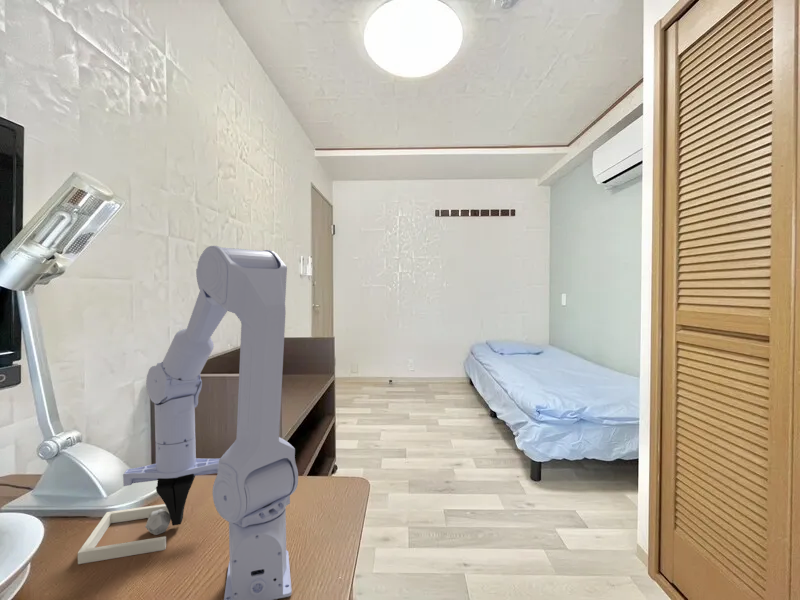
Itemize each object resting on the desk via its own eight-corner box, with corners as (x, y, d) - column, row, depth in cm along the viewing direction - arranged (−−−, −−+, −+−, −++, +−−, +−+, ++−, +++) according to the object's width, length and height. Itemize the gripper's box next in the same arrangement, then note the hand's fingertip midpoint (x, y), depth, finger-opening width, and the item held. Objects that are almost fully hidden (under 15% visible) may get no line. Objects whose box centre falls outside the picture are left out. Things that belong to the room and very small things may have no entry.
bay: (165, 549, 64) (164, 539, 64) (77, 564, 61) (77, 553, 61) (180, 511, 76) (179, 501, 76) (107, 521, 72) (106, 512, 72)
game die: (174, 524, 71) (174, 506, 71) (165, 536, 68) (165, 517, 68) (152, 525, 71) (151, 507, 71) (141, 538, 67) (141, 519, 67)
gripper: (226, 426, 76) (227, 503, 76) (131, 435, 72) (134, 516, 72) (222, 439, 69) (224, 524, 69) (117, 450, 65) (120, 540, 65)
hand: (177, 521), depth 70 cm, fingers closed
